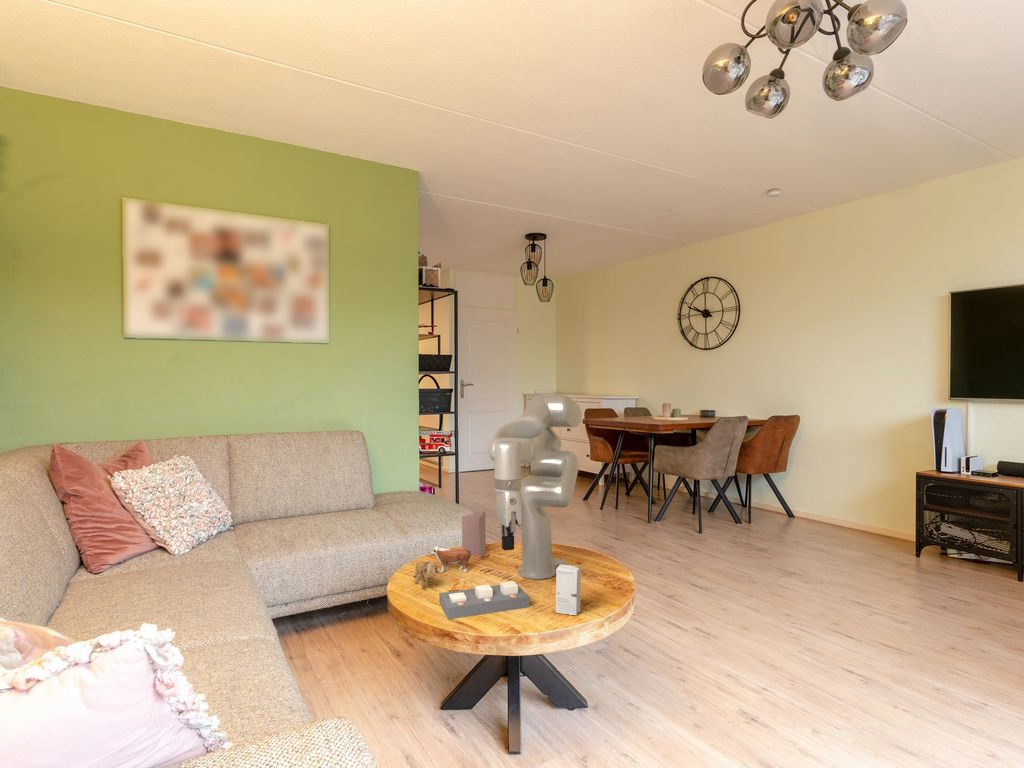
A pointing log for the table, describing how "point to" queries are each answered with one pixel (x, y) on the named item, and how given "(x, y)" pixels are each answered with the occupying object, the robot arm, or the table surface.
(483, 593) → the middle button
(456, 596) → the outer button
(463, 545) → the greeting card
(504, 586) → the inner button
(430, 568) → the lion figurine
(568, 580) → the skincare box
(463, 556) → the bull figurine
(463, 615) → the button board
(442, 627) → the table surface
